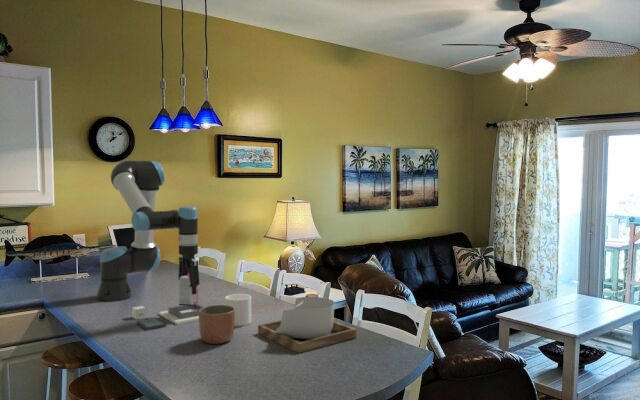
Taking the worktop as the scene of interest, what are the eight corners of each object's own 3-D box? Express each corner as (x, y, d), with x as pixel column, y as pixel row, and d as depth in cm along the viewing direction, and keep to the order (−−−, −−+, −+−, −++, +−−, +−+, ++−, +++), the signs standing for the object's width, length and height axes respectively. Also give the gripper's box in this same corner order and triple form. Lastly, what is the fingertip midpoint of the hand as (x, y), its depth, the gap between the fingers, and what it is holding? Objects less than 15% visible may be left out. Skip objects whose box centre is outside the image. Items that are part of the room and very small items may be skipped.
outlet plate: (159, 314, 206) (159, 307, 205) (199, 307, 217) (199, 300, 217) (176, 324, 191) (176, 317, 191) (218, 316, 203) (218, 309, 203)
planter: (217, 348, 165) (217, 316, 165) (191, 342, 172) (191, 310, 171) (242, 338, 176) (242, 308, 175) (216, 332, 182) (216, 303, 182)
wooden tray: (258, 333, 181) (258, 325, 181) (313, 321, 197) (313, 313, 197) (299, 352, 162) (299, 343, 161) (356, 337, 177) (356, 329, 177)
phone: (136, 323, 193) (136, 320, 193) (154, 320, 197) (154, 317, 197) (146, 330, 184) (146, 327, 184) (165, 326, 189) (165, 324, 189)
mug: (256, 323, 194) (256, 297, 194) (234, 328, 187) (234, 301, 187) (238, 316, 203) (238, 291, 203) (217, 321, 197) (216, 295, 196)
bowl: (328, 345, 168) (329, 310, 168) (273, 340, 171) (274, 306, 171) (336, 329, 187) (337, 297, 187) (287, 325, 191) (288, 294, 191)
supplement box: (192, 306, 200) (192, 277, 200) (178, 305, 202) (178, 277, 201) (198, 302, 206) (198, 275, 206) (185, 301, 207) (185, 274, 207)
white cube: (132, 317, 202) (132, 307, 201) (142, 315, 204) (142, 305, 204) (136, 319, 198) (136, 309, 198) (146, 318, 201) (146, 308, 200)
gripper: (169, 242, 208) (170, 296, 209) (190, 248, 192) (190, 306, 193) (186, 241, 213) (187, 293, 214) (208, 246, 197) (208, 303, 198)
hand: (188, 299), depth 204 cm, fingers closed on supplement box, 8 cm apart
